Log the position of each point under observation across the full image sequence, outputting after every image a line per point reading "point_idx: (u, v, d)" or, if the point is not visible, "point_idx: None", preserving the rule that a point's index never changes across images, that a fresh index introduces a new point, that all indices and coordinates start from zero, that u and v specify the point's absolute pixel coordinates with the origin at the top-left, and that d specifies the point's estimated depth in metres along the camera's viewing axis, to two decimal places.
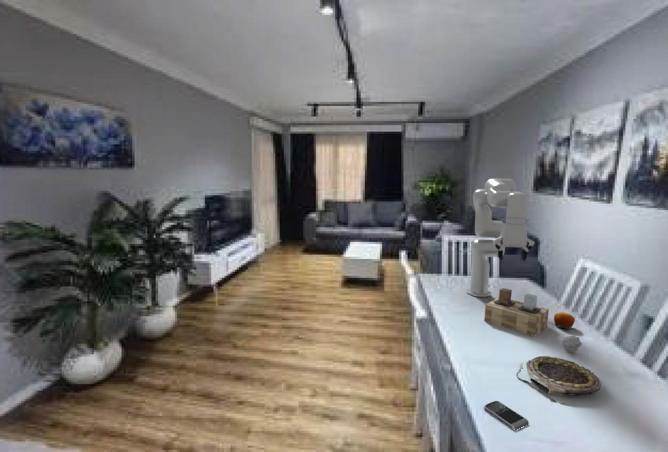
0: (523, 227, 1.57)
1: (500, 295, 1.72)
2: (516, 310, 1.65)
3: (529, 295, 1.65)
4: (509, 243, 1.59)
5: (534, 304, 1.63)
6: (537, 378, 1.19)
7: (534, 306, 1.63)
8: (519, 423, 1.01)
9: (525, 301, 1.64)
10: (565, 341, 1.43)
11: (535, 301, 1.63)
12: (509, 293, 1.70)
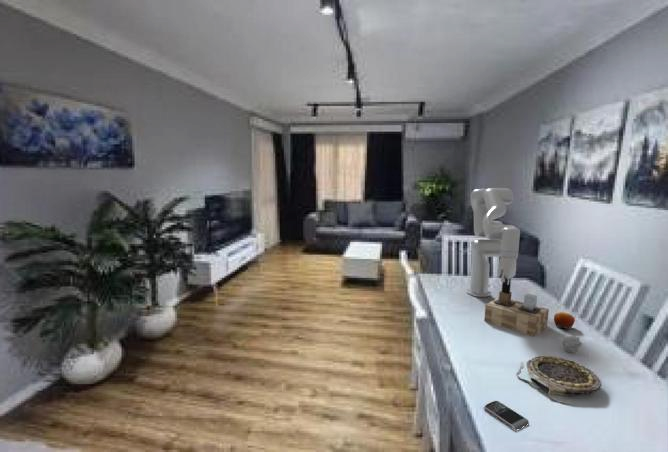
0: (516, 258, 1.70)
1: (500, 297, 1.72)
2: (516, 310, 1.65)
3: (529, 295, 1.65)
4: (510, 275, 1.68)
5: (534, 304, 1.63)
6: (538, 378, 1.19)
7: (534, 306, 1.63)
8: (519, 422, 1.01)
9: (525, 301, 1.64)
10: (565, 341, 1.43)
11: (535, 301, 1.63)
12: (509, 295, 1.71)
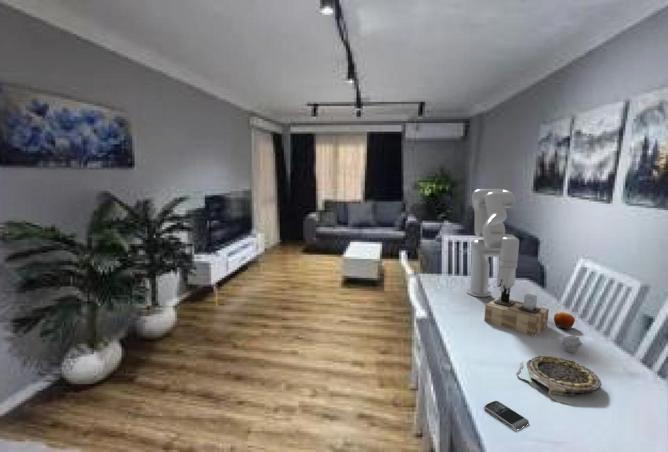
0: (515, 268, 1.71)
1: None
2: (516, 310, 1.65)
3: (529, 295, 1.65)
4: (509, 285, 1.68)
5: (534, 304, 1.63)
6: (538, 378, 1.19)
7: (534, 306, 1.63)
8: (520, 422, 1.01)
9: (525, 301, 1.64)
10: (565, 341, 1.43)
11: (535, 301, 1.63)
12: None
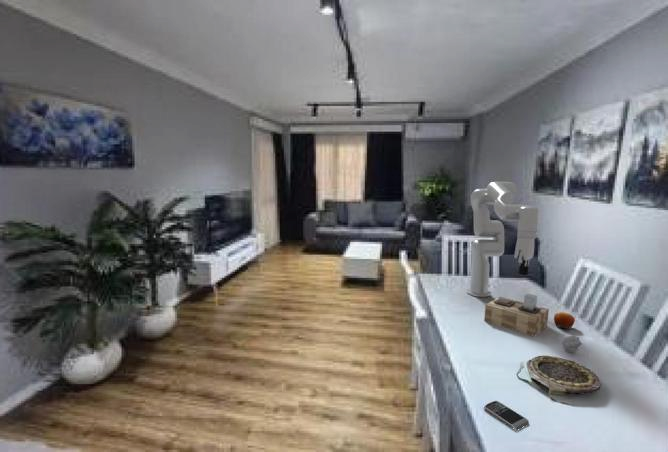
0: None
1: None
2: (516, 310, 1.65)
3: (529, 295, 1.65)
4: (528, 256, 1.61)
5: (534, 304, 1.63)
6: (538, 378, 1.19)
7: (534, 306, 1.63)
8: (520, 422, 1.01)
9: (525, 301, 1.64)
10: (565, 341, 1.43)
11: (535, 301, 1.63)
12: None
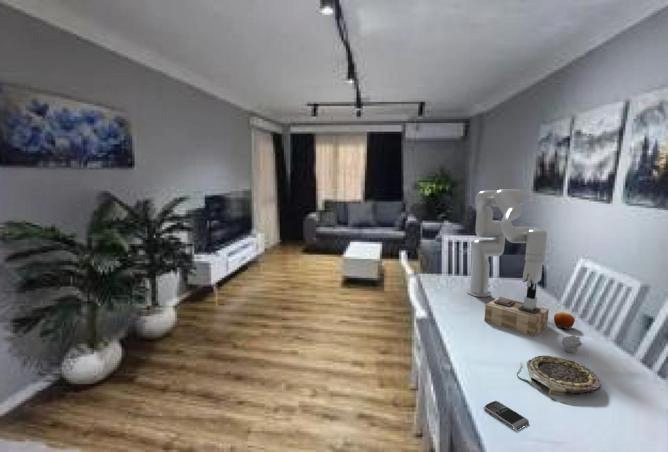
0: None
1: None
2: (516, 310, 1.65)
3: None
4: (536, 280, 1.60)
5: (534, 306, 1.63)
6: (538, 378, 1.20)
7: (534, 308, 1.63)
8: (520, 422, 1.01)
9: (525, 303, 1.64)
10: (565, 341, 1.43)
11: (535, 303, 1.63)
12: None
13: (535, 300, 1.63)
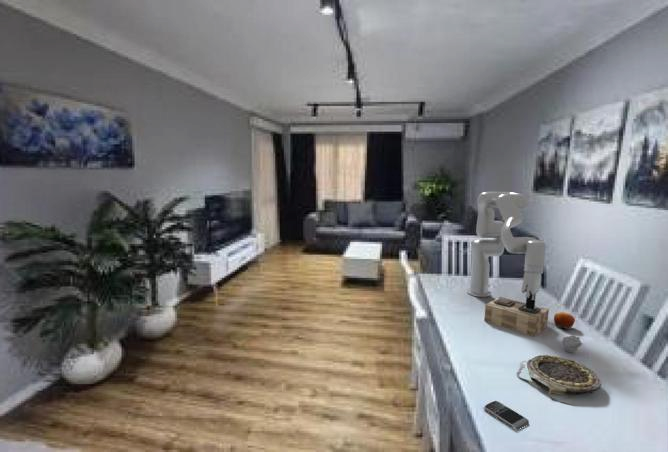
0: None
1: None
2: (516, 310, 1.65)
3: None
4: (535, 291, 1.61)
5: None
6: (538, 377, 1.20)
7: None
8: (520, 422, 1.01)
9: None
10: (565, 341, 1.43)
11: None
12: None
13: None
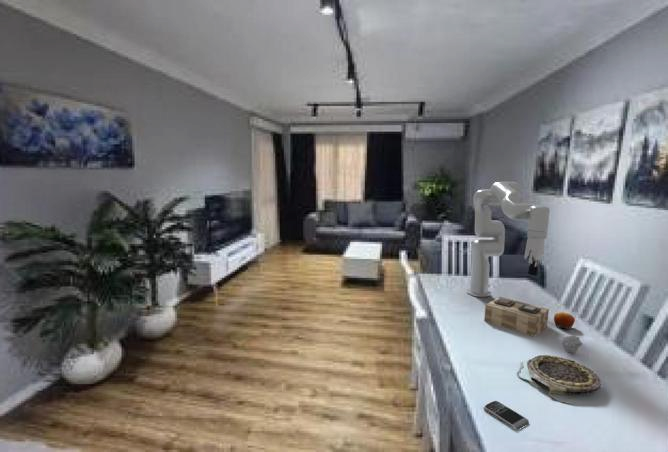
0: None
1: None
2: (516, 310, 1.65)
3: (528, 307, 1.65)
4: (538, 257, 1.58)
5: None
6: (538, 377, 1.20)
7: None
8: (520, 422, 1.01)
9: None
10: (565, 341, 1.43)
11: None
12: None
13: None
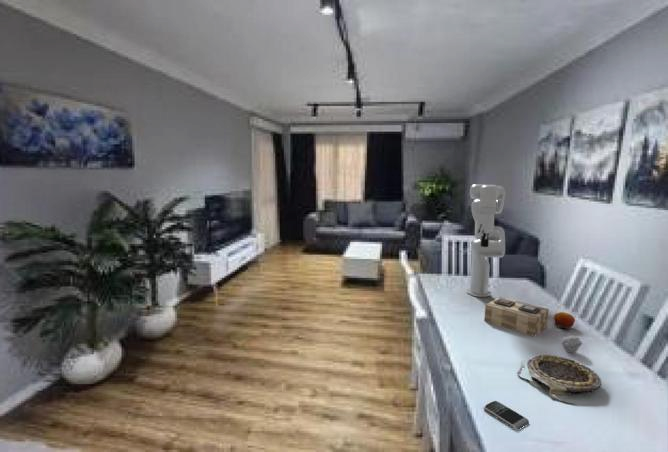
0: (493, 215, 1.83)
1: None
2: (516, 310, 1.65)
3: (528, 307, 1.65)
4: (488, 230, 1.81)
5: None
6: (538, 377, 1.20)
7: None
8: (520, 422, 1.01)
9: None
10: (565, 341, 1.43)
11: None
12: None
13: None
